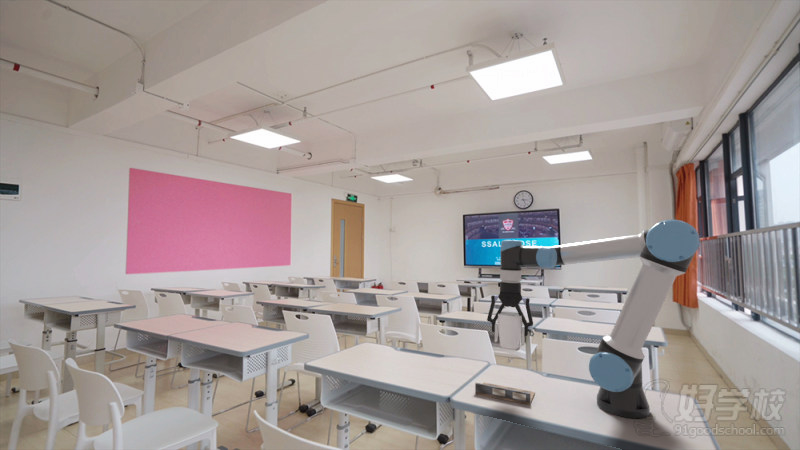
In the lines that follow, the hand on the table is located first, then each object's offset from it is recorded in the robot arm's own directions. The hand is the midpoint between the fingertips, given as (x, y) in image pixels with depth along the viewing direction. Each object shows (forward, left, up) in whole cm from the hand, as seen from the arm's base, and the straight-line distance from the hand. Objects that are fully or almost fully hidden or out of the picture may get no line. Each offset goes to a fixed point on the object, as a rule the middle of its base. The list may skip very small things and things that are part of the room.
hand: (509, 342), depth 135 cm
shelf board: (+1, +1, -18) cm, 18 cm away
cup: (0, 0, -2) cm, 2 cm away
